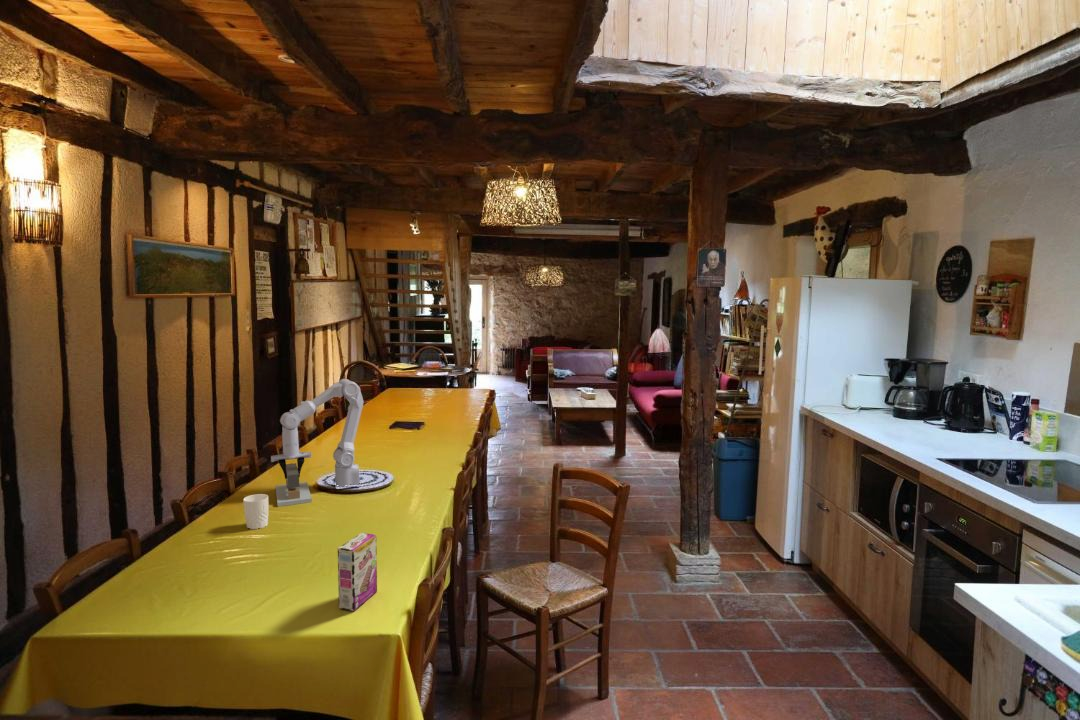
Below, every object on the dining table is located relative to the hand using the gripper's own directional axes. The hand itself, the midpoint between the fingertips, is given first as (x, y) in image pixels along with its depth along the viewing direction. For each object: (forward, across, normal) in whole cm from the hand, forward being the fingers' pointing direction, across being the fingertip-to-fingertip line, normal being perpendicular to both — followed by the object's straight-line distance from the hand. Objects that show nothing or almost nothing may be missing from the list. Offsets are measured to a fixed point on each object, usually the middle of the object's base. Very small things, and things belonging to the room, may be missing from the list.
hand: (292, 477), depth 245 cm
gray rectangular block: (+2, 0, 0) cm, 2 cm away
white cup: (+8, -13, -28) cm, 32 cm away
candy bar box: (+8, +11, -95) cm, 96 cm away
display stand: (+7, 0, 0) cm, 7 cm away
